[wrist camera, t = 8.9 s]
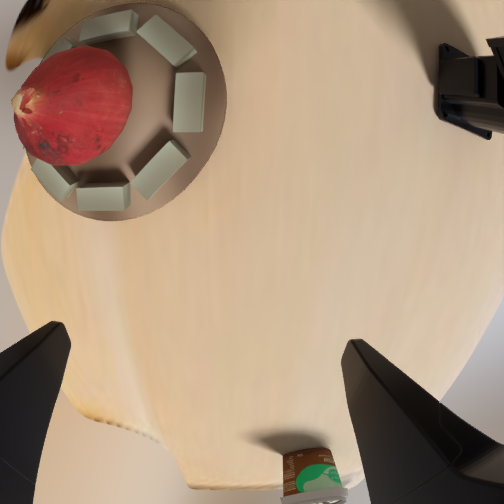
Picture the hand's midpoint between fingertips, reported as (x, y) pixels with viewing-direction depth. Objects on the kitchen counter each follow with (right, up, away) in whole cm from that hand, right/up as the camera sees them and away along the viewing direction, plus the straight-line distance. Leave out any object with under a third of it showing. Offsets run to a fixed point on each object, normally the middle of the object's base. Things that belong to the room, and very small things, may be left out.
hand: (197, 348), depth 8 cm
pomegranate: (-7, +11, +6) cm, 14 cm away
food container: (+12, -29, +29) cm, 43 cm away
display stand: (-7, +12, +7) cm, 16 cm away
